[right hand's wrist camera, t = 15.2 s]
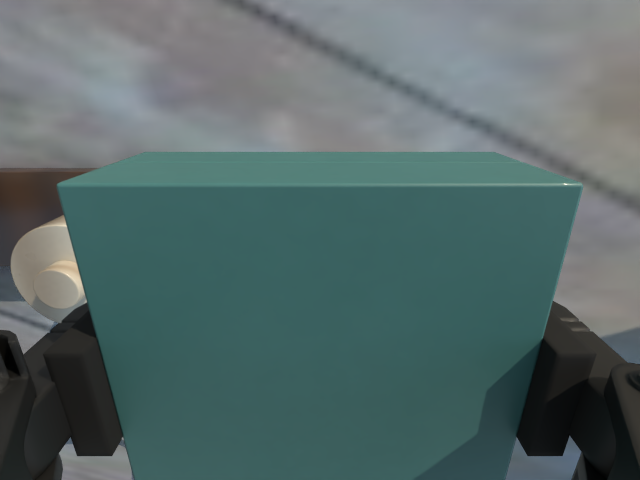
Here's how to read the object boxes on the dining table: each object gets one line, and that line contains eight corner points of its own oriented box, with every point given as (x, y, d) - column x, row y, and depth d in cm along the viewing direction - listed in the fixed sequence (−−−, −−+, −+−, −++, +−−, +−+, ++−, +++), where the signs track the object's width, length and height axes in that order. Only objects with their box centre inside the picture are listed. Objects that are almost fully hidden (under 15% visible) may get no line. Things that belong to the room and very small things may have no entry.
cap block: (495, 151, 10) (586, 183, 6) (450, 416, 13) (494, 526, 10) (143, 151, 10) (52, 182, 6) (189, 416, 13) (145, 526, 10)
